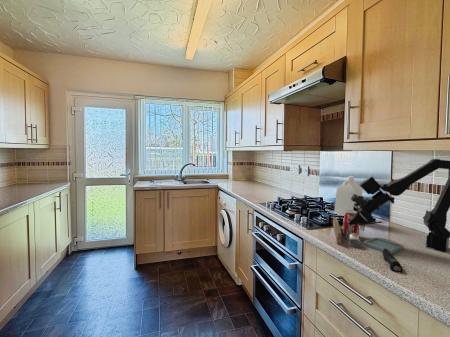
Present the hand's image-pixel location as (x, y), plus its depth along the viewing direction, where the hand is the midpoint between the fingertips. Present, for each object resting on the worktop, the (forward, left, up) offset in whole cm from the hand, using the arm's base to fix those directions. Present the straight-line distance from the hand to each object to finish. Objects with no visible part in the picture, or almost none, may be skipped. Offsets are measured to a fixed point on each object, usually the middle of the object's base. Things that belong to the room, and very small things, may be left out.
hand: (348, 222), depth 120 cm
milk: (+16, -27, -7) cm, 32 cm away
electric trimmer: (-25, +14, -7) cm, 30 cm away
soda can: (-1, -1, -7) cm, 7 cm away
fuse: (-8, +8, -7) cm, 13 cm away
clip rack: (+1, 0, -7) cm, 7 cm away
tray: (-16, +1, -7) cm, 18 cm away
